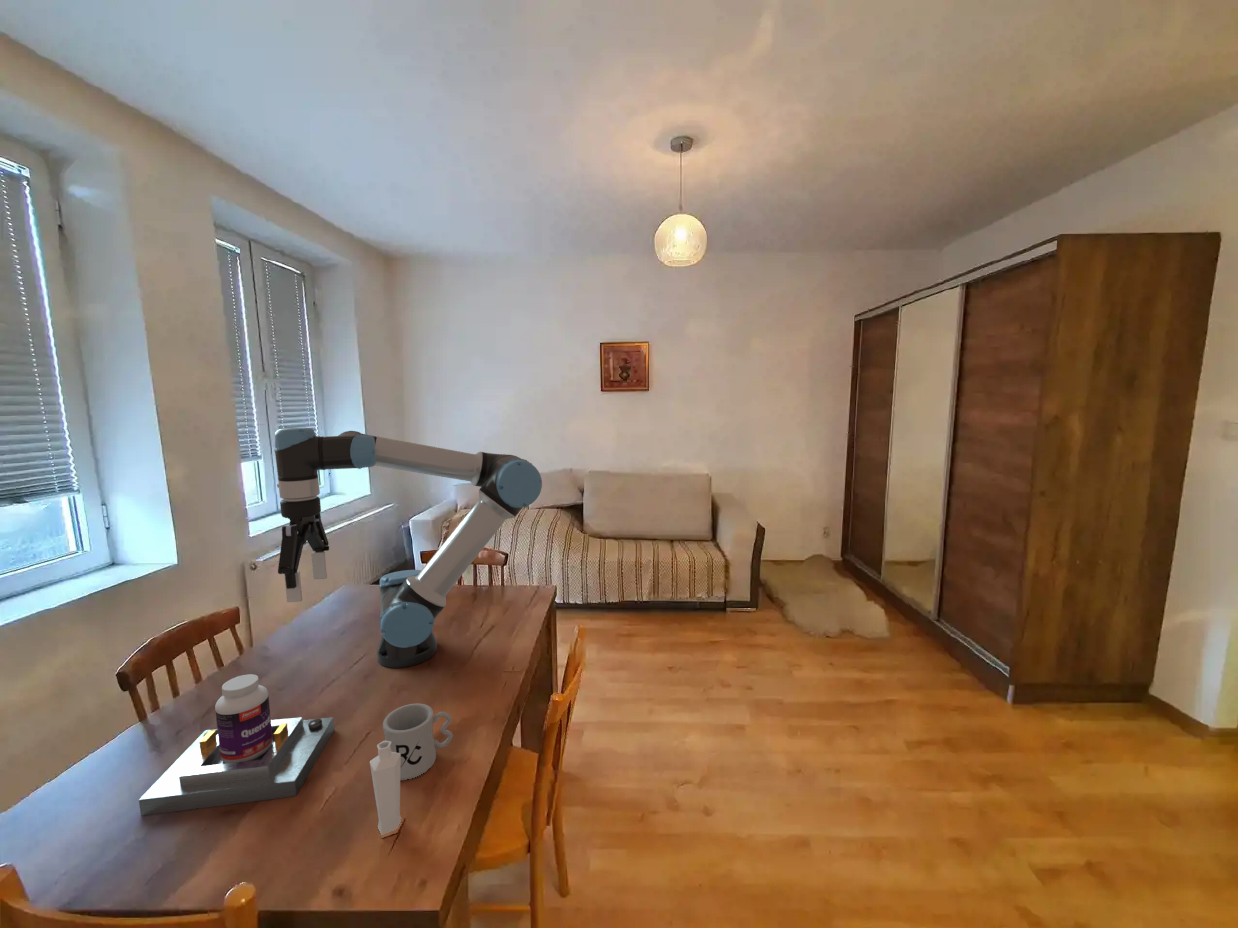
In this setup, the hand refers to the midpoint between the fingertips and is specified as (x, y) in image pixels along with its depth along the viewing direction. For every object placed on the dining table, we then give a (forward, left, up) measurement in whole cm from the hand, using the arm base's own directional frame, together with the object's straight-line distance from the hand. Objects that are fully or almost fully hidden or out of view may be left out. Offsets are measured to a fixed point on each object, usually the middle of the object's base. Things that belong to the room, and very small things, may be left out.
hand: (308, 589), depth 115 cm
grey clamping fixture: (+4, +22, -27) cm, 35 cm away
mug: (-28, +26, -27) cm, 47 cm away
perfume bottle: (-26, +41, -27) cm, 56 cm away
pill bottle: (+4, +22, -24) cm, 33 cm away
